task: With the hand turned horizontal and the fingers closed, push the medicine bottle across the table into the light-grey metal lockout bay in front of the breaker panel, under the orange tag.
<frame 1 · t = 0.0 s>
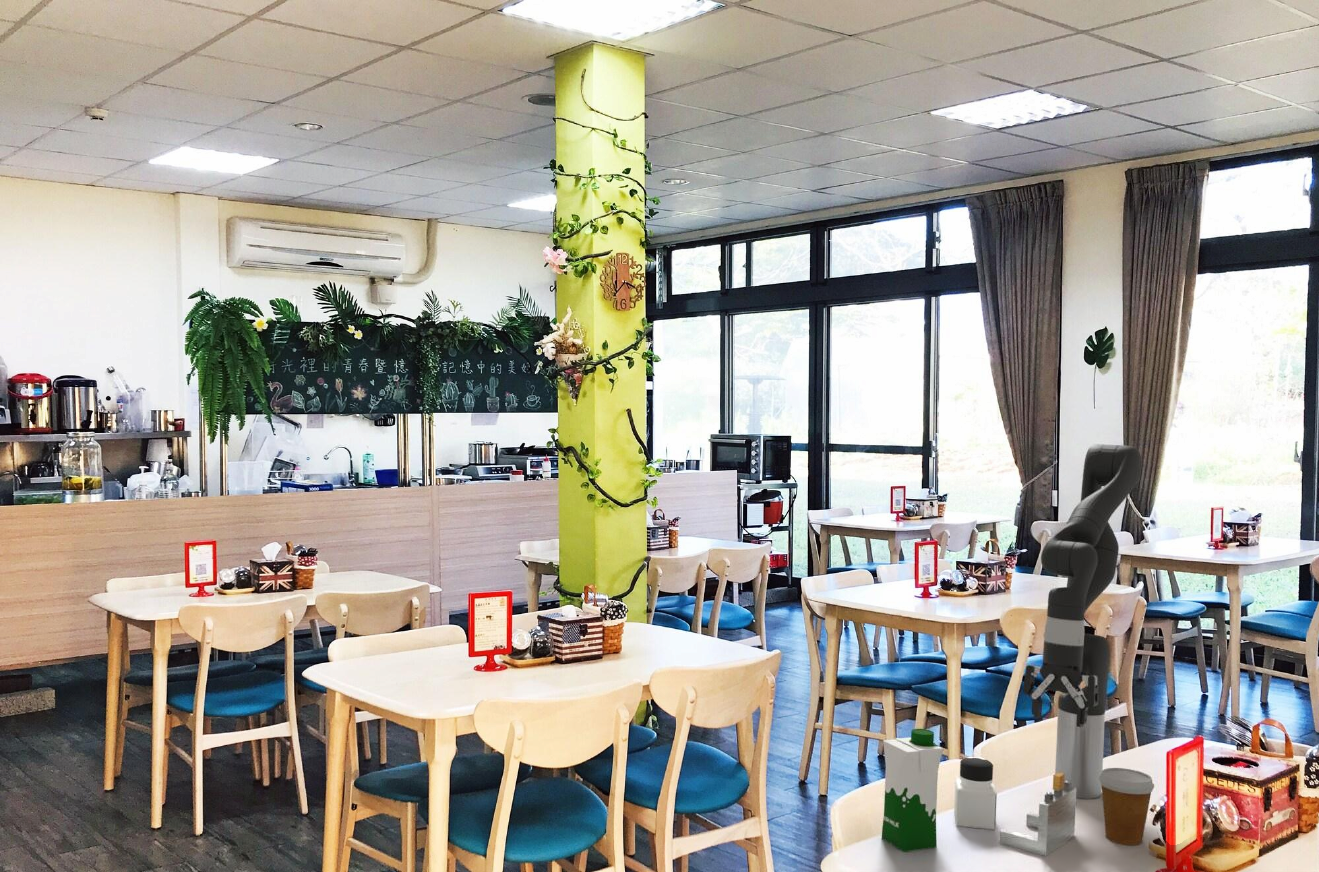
hand: (1058, 722, 225), 17 cm above the table, tool pointing down, fingers open, 8 cm apart
disposable coffee cup: (1123, 840, 209), on the table
lockout bay: (1035, 838, 207), on the table
medicine bottle: (974, 823, 215), on the table
milk carton: (908, 843, 203), on the table
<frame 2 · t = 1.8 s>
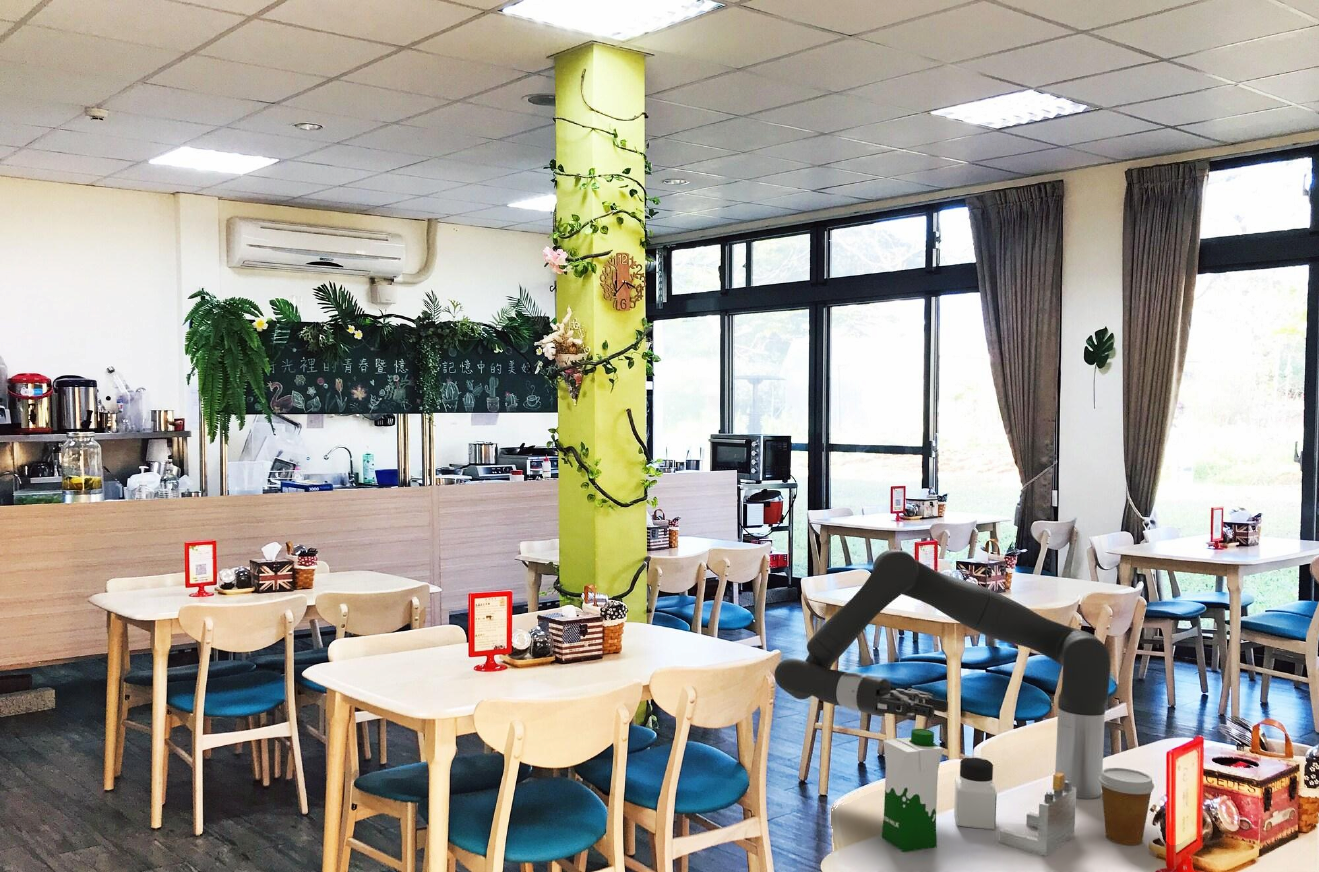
hand: (940, 709, 220), 20 cm above the table, tool horizontal, fingers open, 5 cm apart
nothing on the table moved.
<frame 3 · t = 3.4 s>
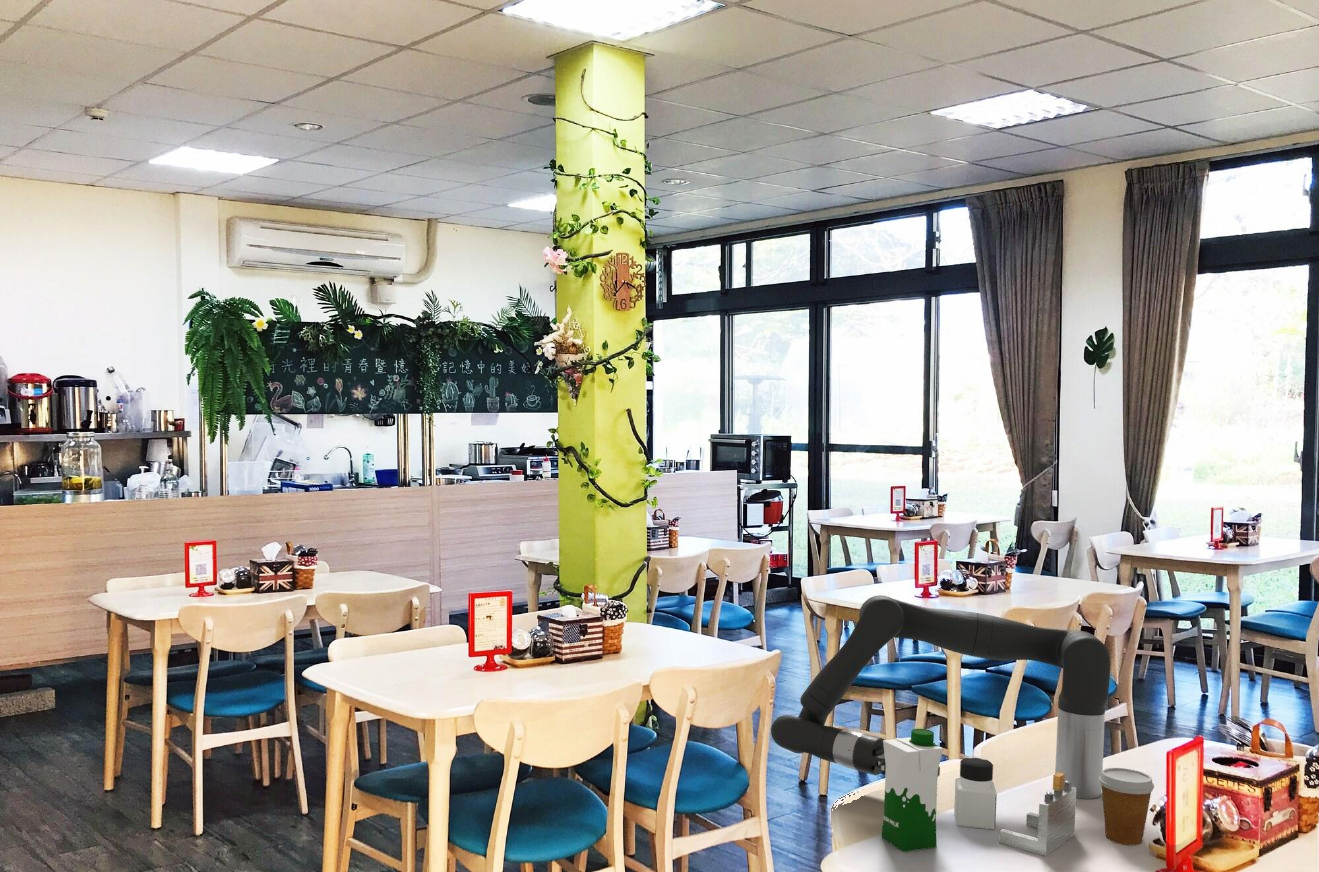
hand: (938, 772, 220), 8 cm above the table, tool horizontal, fingers closed
nothing on the table moved.
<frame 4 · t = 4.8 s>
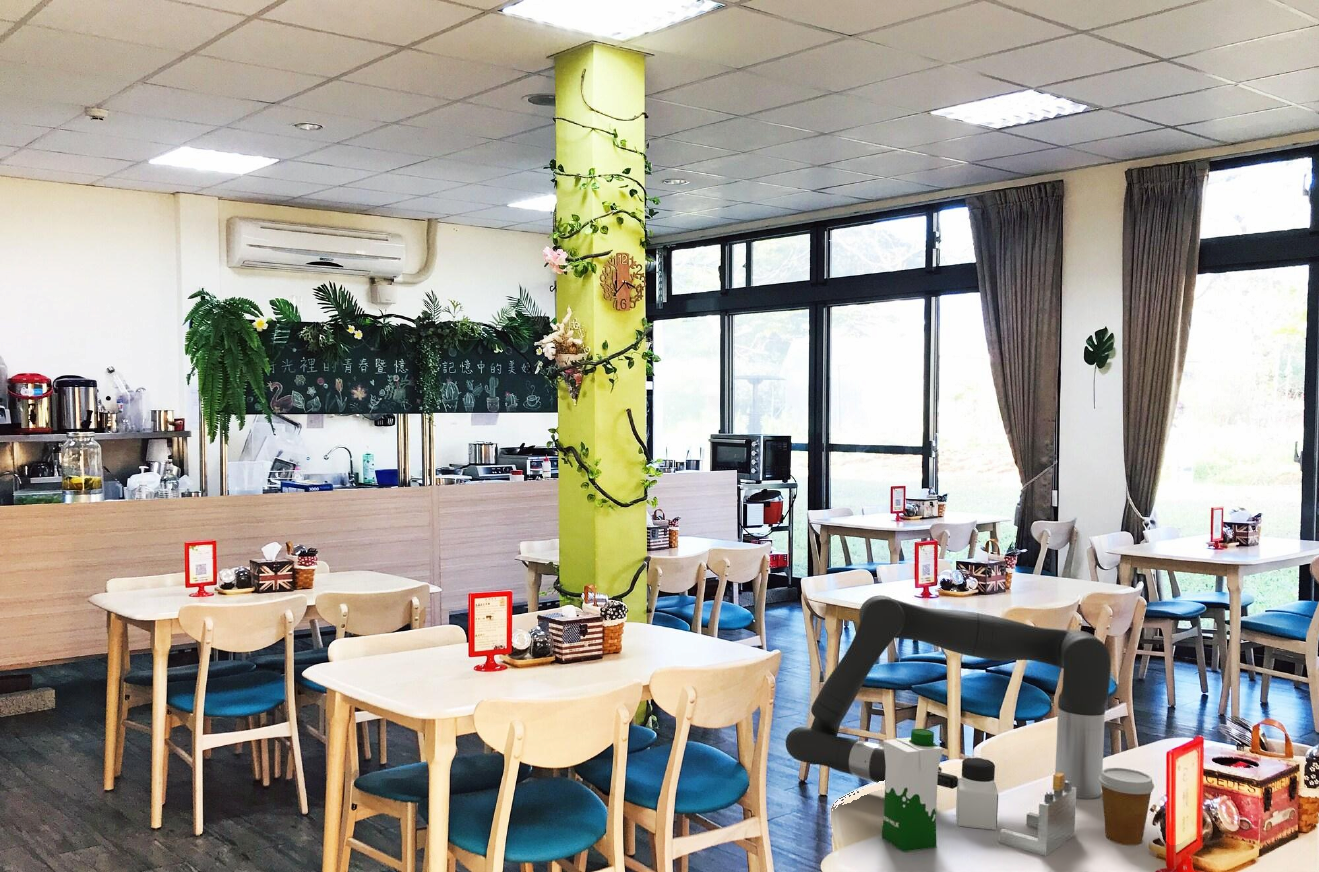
hand: (956, 782, 217), 7 cm above the table, tool horizontal, fingers closed
medicine bottle: (975, 823, 215), on the table, touching gripper
everything else where it was.
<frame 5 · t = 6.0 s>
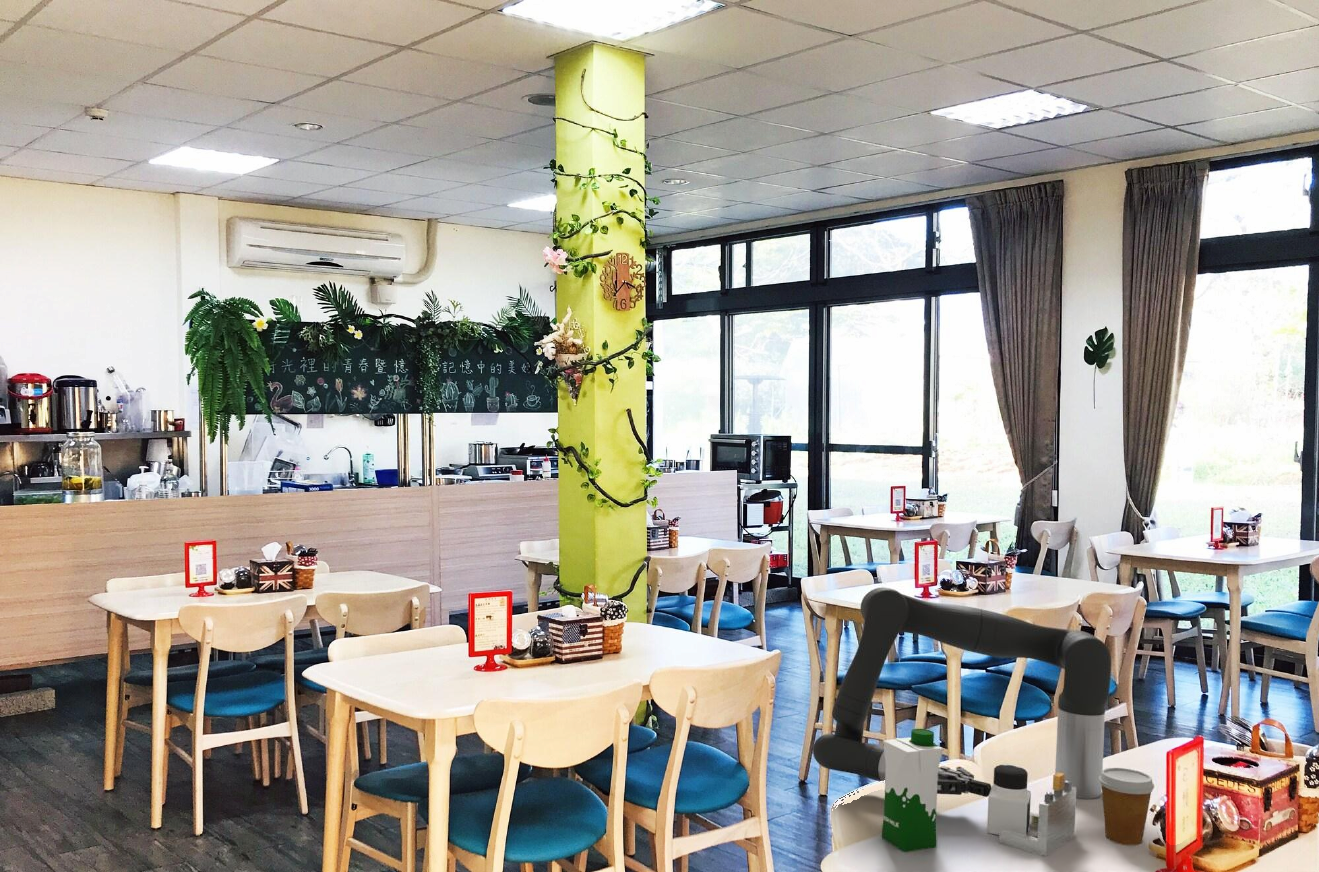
hand: (989, 790, 213), 7 cm above the table, tool horizontal, fingers closed
medicine bottle: (1008, 831, 211), on the table, touching gripper
everything else where it was.
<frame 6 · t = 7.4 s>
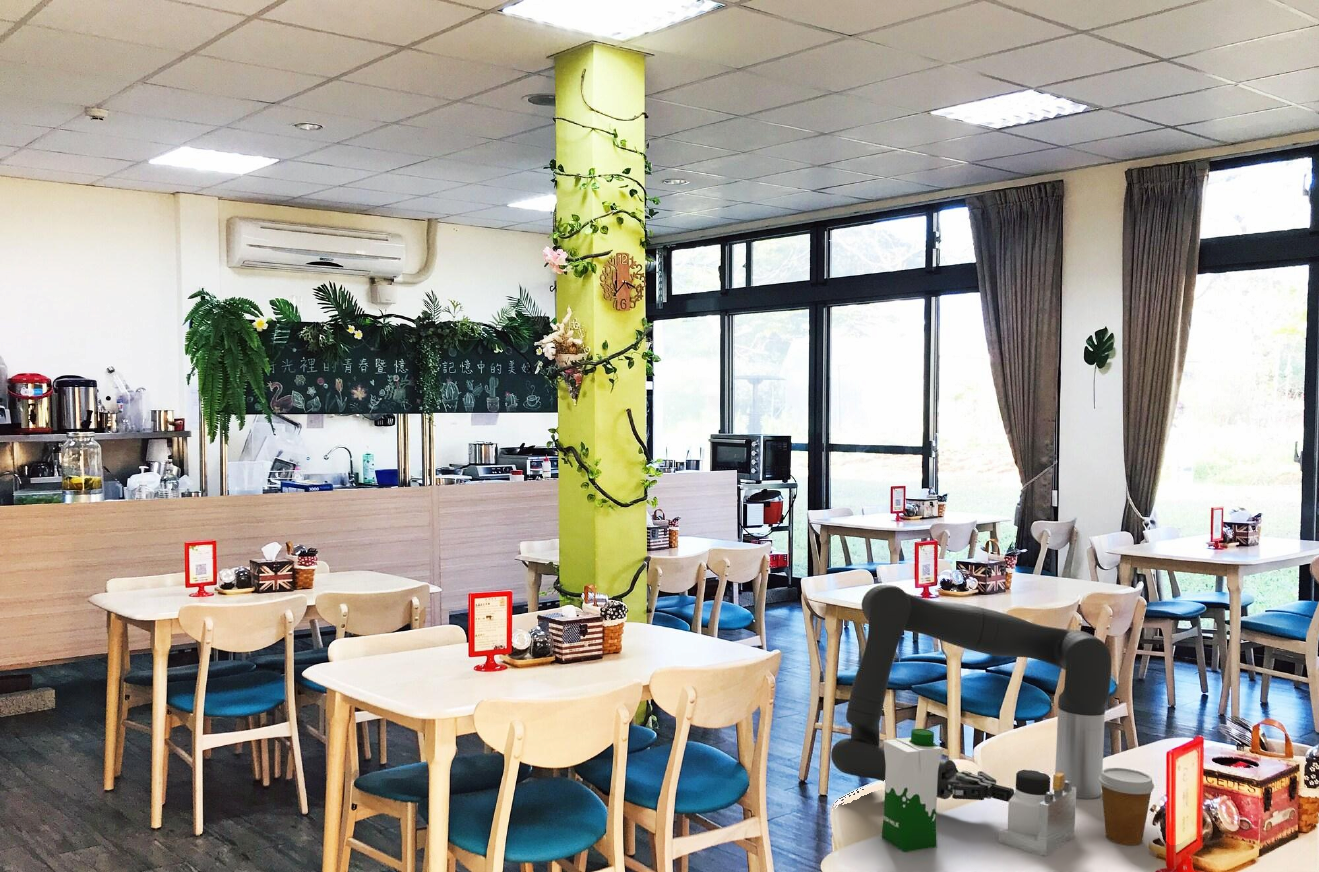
hand: (1012, 795, 210), 7 cm above the table, tool horizontal, fingers closed
medicine bottle: (1030, 837, 208), on the table, touching gripper, lockout bay
everything else where it was.
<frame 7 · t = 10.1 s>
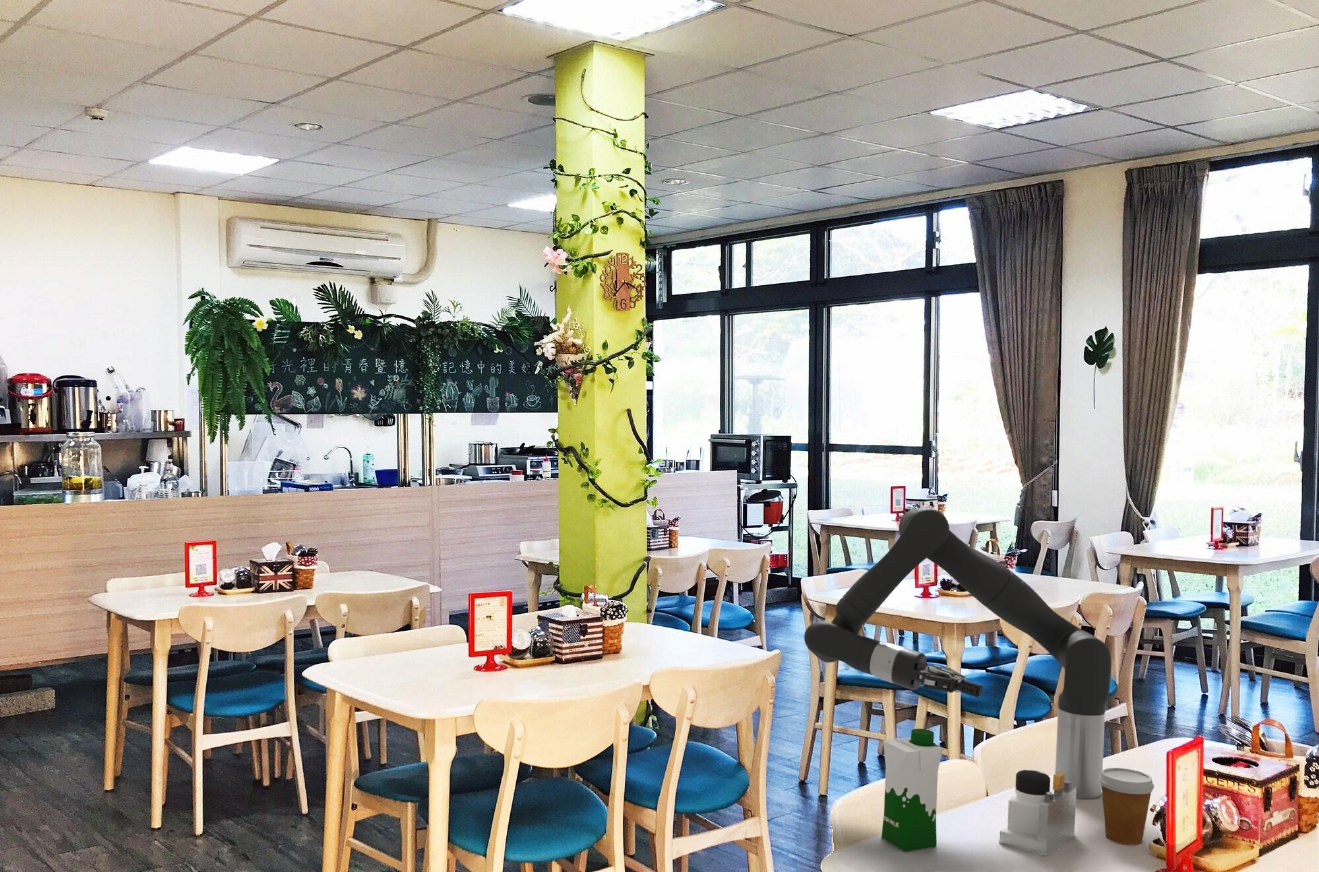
hand: (981, 691, 215), 25 cm above the table, tool horizontal, fingers closed
medicine bottle: (1030, 837, 208), on the table
everything else where it was.
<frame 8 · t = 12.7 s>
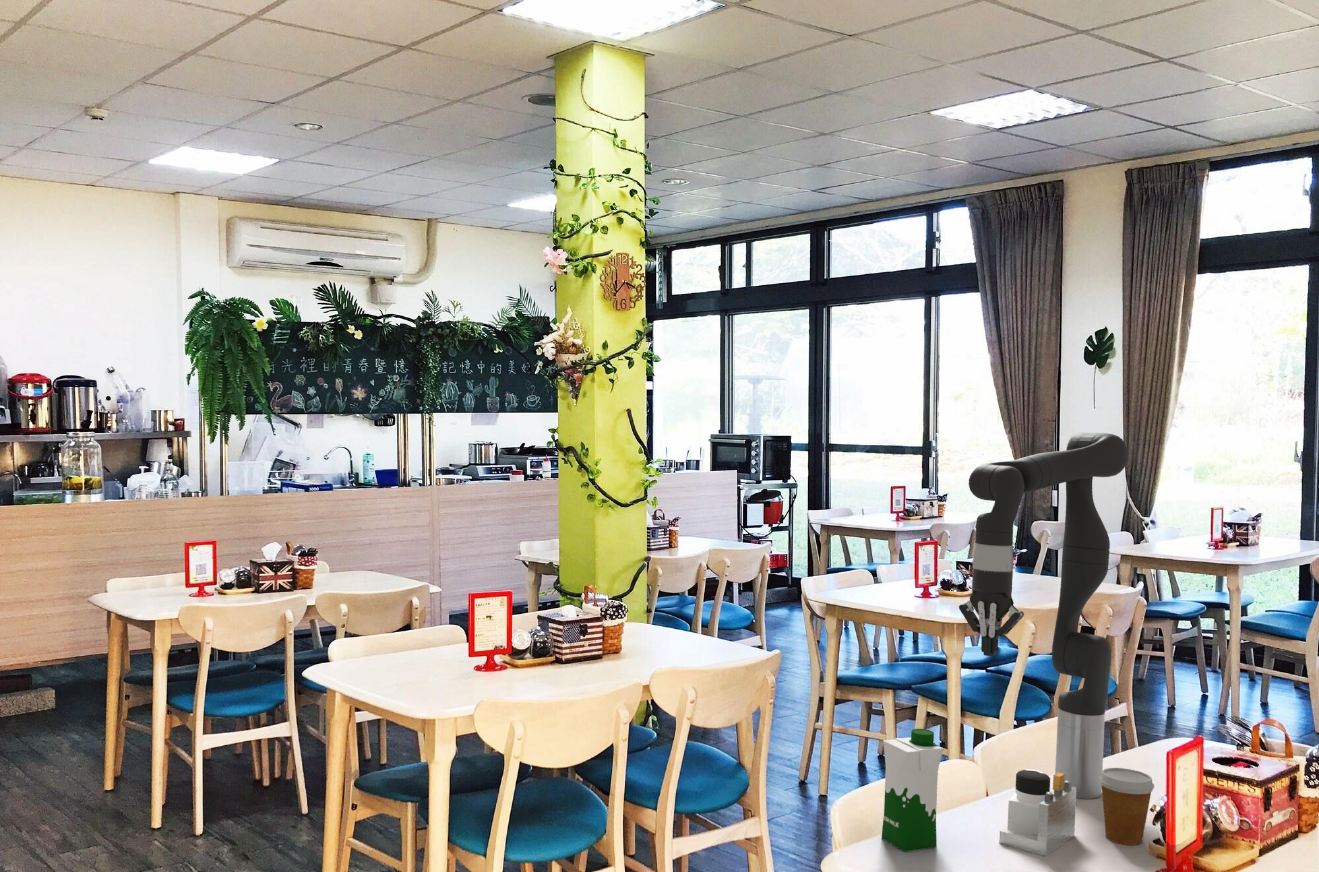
hand: (989, 655, 220), 31 cm above the table, tool pointing down, fingers closed
nothing on the table moved.
at the end: medicine bottle inside the target area (0.7 cm from its centre), on the table; medicine bottle tilted 0°; medicine bottle moved 10.9 cm from its start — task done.
